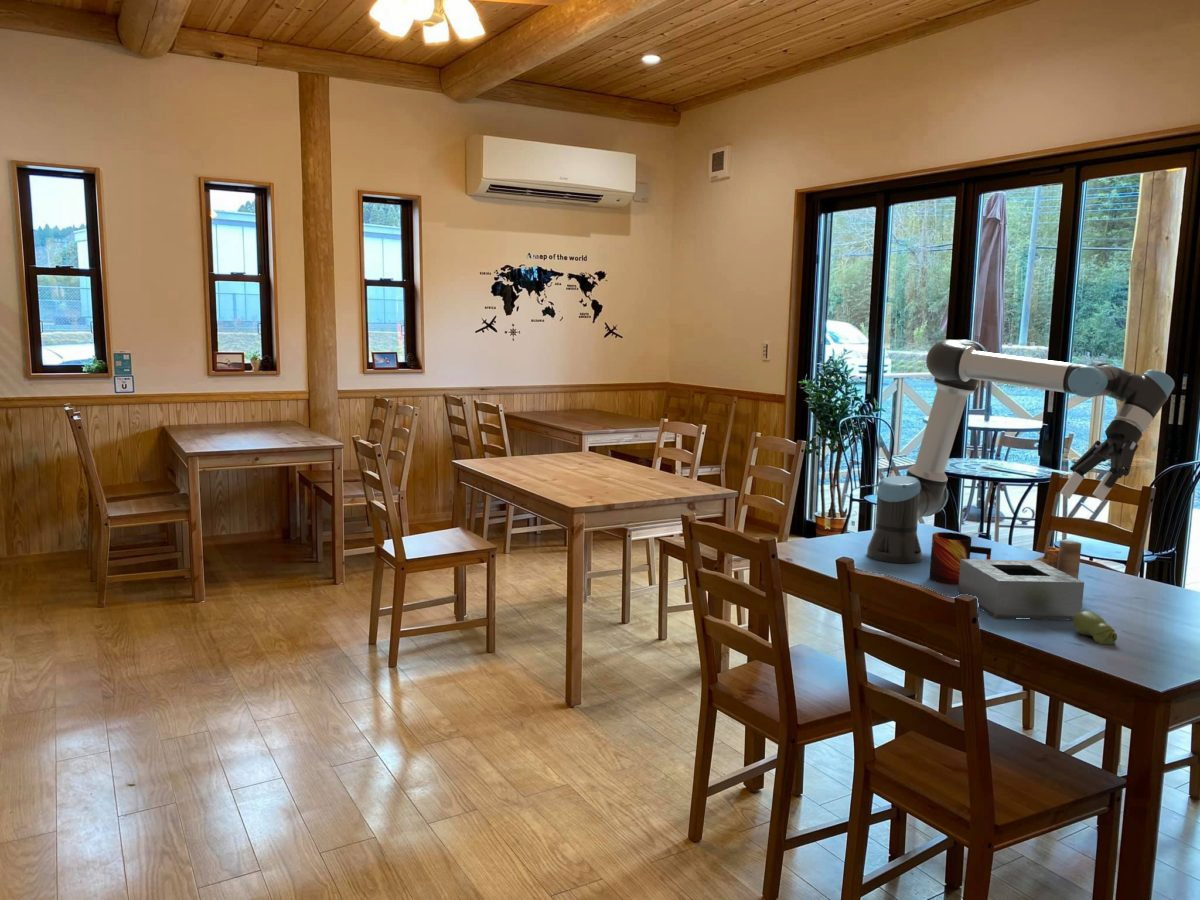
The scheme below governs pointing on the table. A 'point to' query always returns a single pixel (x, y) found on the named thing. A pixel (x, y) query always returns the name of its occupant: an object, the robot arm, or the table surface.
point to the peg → (1069, 557)
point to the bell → (1050, 557)
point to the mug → (951, 556)
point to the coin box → (1021, 589)
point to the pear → (1094, 627)
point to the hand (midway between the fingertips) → (1080, 496)
